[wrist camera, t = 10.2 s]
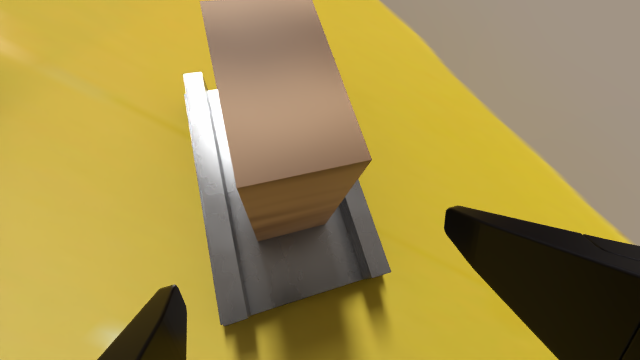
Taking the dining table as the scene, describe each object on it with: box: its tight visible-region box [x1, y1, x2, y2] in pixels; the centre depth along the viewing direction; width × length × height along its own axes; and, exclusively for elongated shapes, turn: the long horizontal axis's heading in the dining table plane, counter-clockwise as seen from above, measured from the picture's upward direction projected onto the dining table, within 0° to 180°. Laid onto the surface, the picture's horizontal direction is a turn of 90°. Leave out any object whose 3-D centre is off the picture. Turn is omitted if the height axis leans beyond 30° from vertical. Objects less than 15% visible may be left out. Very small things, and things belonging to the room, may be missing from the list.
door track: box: [183, 72, 391, 326], centre depth 19 cm, size 16×10×3 cm, turn 16°
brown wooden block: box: [200, 0, 372, 241], centre depth 15 cm, size 8×4×10 cm, turn 16°
